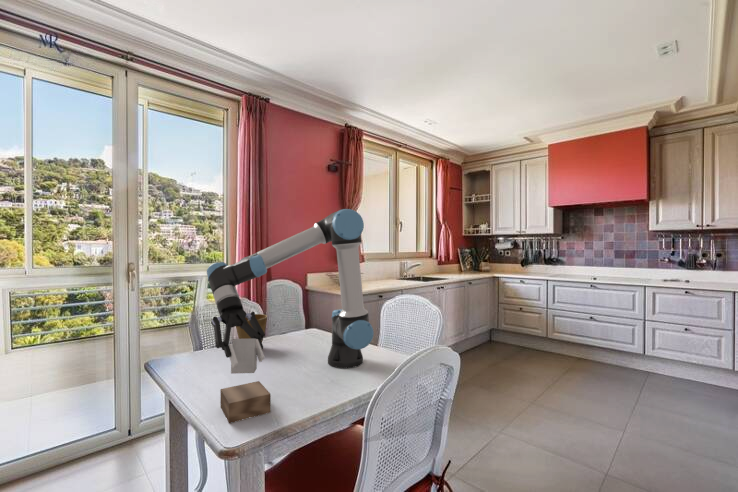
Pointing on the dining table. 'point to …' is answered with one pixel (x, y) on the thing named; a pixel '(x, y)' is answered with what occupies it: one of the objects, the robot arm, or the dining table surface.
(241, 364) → the small grey carton
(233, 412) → the walnut block
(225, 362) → the dining table surface
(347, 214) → the robot arm
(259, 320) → the plant pot
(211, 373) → the dining table surface
